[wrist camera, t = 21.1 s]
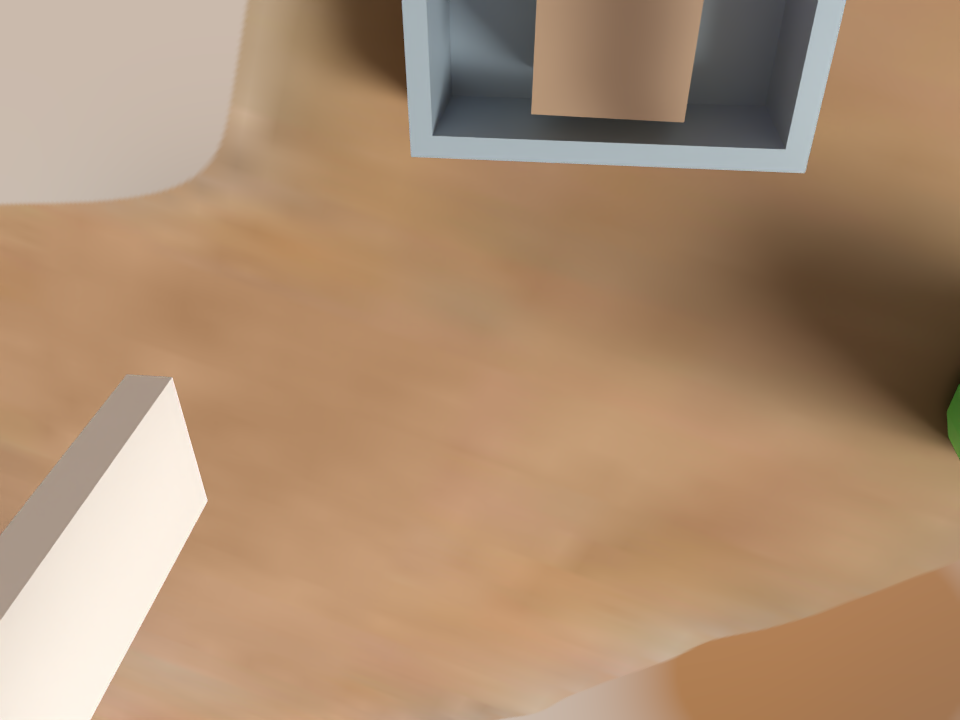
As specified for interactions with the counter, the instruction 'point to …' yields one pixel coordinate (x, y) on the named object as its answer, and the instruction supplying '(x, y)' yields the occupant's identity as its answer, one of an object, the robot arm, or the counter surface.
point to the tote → (603, 141)
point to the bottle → (954, 421)
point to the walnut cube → (614, 58)
